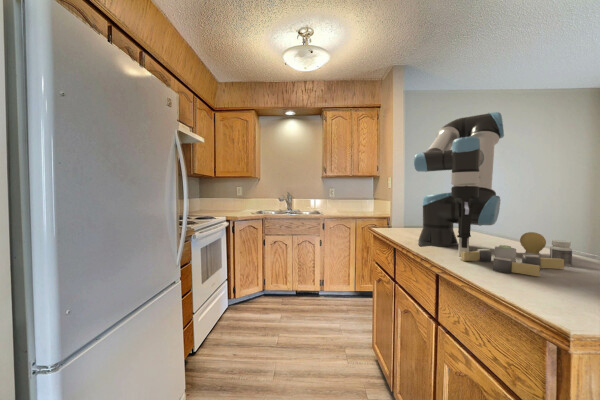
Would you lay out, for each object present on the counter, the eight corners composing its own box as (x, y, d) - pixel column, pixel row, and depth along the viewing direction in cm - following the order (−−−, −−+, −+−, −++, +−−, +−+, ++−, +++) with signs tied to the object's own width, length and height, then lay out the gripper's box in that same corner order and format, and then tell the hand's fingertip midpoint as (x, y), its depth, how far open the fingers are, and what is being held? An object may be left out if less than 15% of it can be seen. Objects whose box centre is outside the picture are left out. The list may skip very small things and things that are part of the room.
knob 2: (492, 271, 70) (492, 258, 69) (494, 267, 72) (494, 255, 72) (539, 279, 63) (539, 265, 63) (539, 275, 66) (539, 261, 66)
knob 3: (527, 268, 71) (527, 256, 71) (518, 265, 75) (518, 253, 75) (567, 271, 69) (568, 258, 69) (557, 267, 73) (557, 255, 72)
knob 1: (483, 258, 83) (484, 247, 83) (494, 261, 79) (494, 250, 79) (458, 259, 82) (458, 248, 81) (467, 262, 78) (467, 251, 77)
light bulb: (518, 258, 88) (518, 230, 87) (543, 261, 84) (543, 231, 84) (520, 262, 83) (521, 232, 82) (547, 265, 79) (548, 234, 79)
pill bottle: (576, 270, 74) (577, 242, 73) (557, 269, 75) (558, 242, 74) (563, 266, 78) (563, 239, 78) (545, 265, 79) (546, 239, 79)
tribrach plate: (459, 260, 85) (460, 239, 85) (521, 264, 81) (522, 241, 80) (484, 278, 68) (484, 251, 68) (565, 283, 63) (566, 255, 63)
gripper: (482, 185, 73) (480, 263, 74) (475, 185, 84) (474, 253, 86) (453, 185, 77) (451, 260, 78) (450, 185, 88) (448, 251, 89)
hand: (463, 256), depth 82 cm, fingers closed
